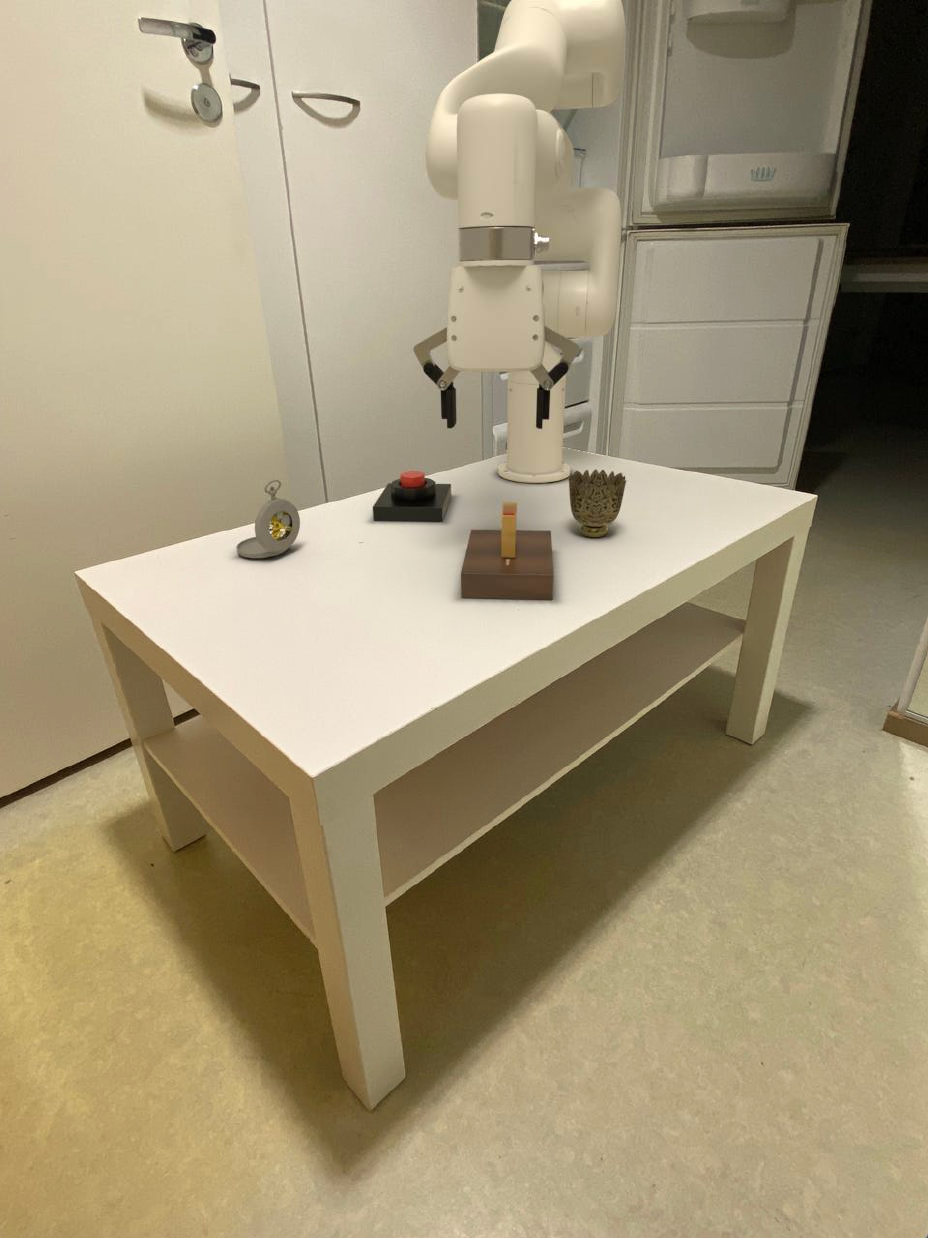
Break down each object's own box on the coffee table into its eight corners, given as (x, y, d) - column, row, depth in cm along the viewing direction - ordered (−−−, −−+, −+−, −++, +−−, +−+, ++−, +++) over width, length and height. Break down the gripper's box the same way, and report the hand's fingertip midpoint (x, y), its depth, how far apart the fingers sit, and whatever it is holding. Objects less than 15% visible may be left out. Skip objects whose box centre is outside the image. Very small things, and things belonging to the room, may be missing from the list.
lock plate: (471, 551, 90) (471, 528, 88) (549, 552, 89) (550, 529, 88) (461, 598, 78) (460, 571, 76) (552, 600, 77) (553, 573, 75)
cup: (621, 545, 91) (626, 485, 87) (563, 542, 92) (566, 482, 89) (621, 526, 97) (626, 469, 94) (567, 523, 99) (570, 467, 95)
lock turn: (502, 542, 84) (503, 499, 82) (516, 542, 84) (517, 500, 82) (501, 557, 80) (501, 513, 77) (515, 558, 80) (516, 513, 77)
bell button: (403, 482, 106) (402, 470, 105) (426, 482, 106) (426, 470, 105) (399, 488, 103) (398, 477, 102) (423, 489, 102) (422, 477, 102)
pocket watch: (246, 542, 94) (234, 468, 90) (308, 542, 94) (299, 468, 89) (226, 566, 87) (211, 487, 82) (293, 565, 87) (282, 486, 82)
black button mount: (388, 496, 112) (387, 471, 110) (451, 497, 111) (450, 472, 109) (373, 521, 101) (371, 494, 99) (442, 522, 100) (441, 495, 98)
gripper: (582, 249, 72) (573, 420, 80) (416, 252, 74) (422, 419, 81) (586, 247, 65) (576, 433, 73) (403, 251, 67) (411, 432, 75)
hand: (495, 426), depth 77 cm, fingers open, 9 cm apart
